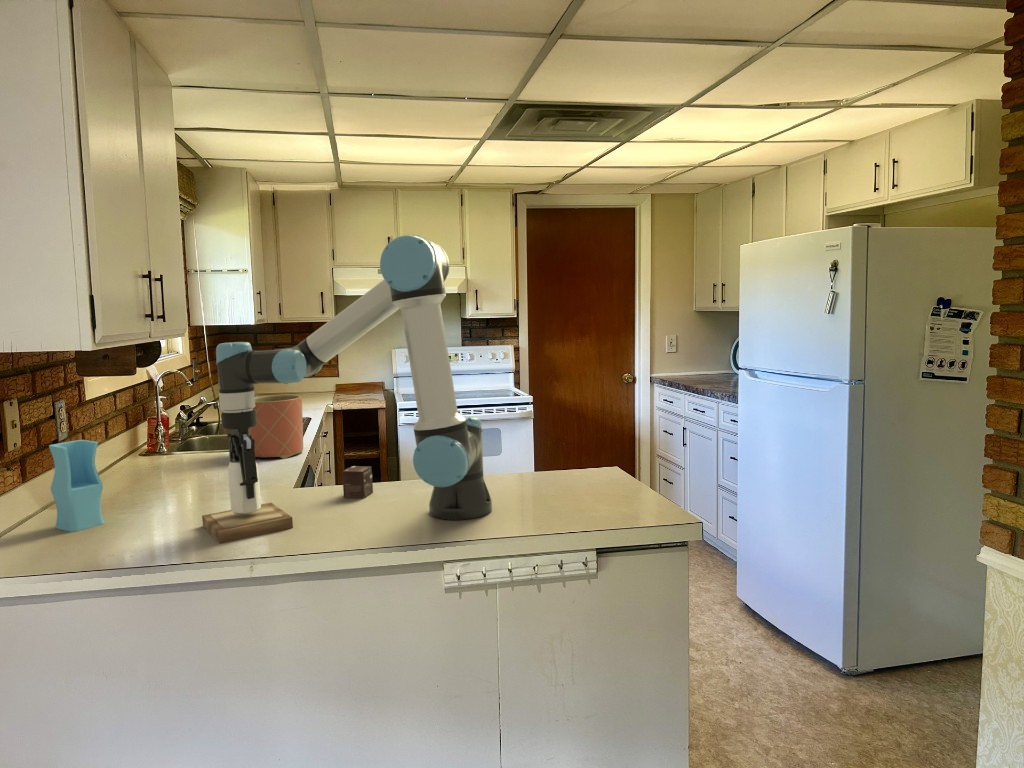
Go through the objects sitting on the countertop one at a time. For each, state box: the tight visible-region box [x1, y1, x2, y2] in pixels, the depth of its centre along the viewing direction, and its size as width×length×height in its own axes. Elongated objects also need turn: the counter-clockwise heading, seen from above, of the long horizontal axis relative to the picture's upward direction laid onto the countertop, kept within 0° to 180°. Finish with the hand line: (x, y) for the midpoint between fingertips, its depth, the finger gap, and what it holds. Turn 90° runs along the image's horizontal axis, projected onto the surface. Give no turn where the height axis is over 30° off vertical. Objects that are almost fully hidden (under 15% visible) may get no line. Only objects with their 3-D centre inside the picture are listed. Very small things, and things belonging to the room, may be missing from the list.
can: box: [227, 459, 262, 514], centre depth 160 cm, size 6×6×12 cm
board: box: [201, 502, 294, 544], centre depth 161 cm, size 16×16×3 cm
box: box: [341, 465, 374, 499], centre depth 185 cm, size 6×6×7 cm
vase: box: [48, 439, 105, 533], centre depth 165 cm, size 8×8×20 cm
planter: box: [249, 394, 304, 460], centre depth 241 cm, size 19×19×20 cm
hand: (246, 508), depth 160 cm, fingers closed on can, 6 cm apart
